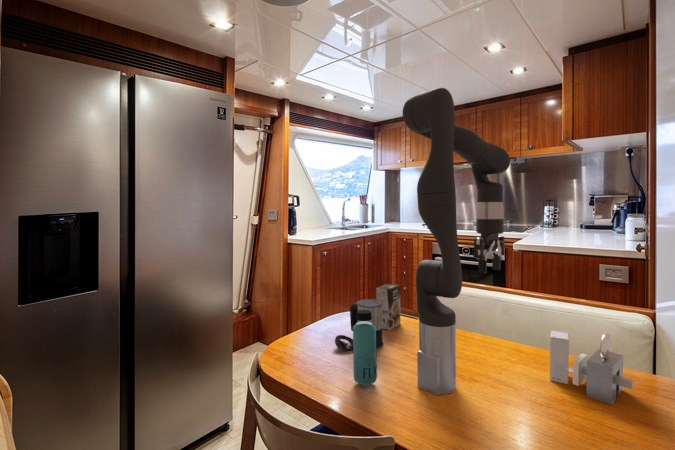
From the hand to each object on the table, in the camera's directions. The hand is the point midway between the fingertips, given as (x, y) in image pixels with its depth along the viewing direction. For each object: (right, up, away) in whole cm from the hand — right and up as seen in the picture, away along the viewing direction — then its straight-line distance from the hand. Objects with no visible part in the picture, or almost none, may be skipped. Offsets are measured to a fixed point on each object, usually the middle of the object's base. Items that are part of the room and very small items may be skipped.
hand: (489, 271), depth 103 cm
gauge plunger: (+22, -27, -16) cm, 39 cm away
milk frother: (-38, -28, +15) cm, 50 cm away
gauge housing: (+19, -28, -13) cm, 36 cm away
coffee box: (-25, -27, +34) cm, 50 cm away
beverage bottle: (-38, -29, -11) cm, 49 cm away
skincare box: (+15, -28, -10) cm, 33 cm away
